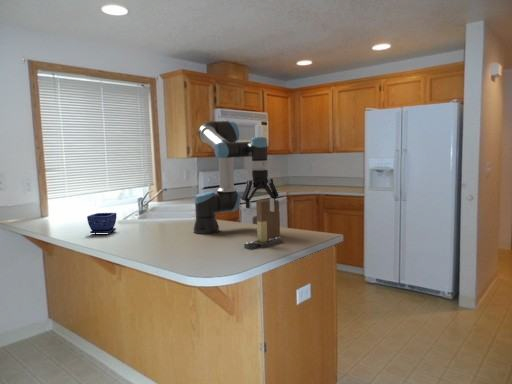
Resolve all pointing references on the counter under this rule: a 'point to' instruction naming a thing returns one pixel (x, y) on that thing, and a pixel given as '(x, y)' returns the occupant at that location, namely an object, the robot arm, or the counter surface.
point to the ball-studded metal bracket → (261, 245)
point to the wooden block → (269, 217)
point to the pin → (262, 231)
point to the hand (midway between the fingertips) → (261, 213)
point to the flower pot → (102, 222)
